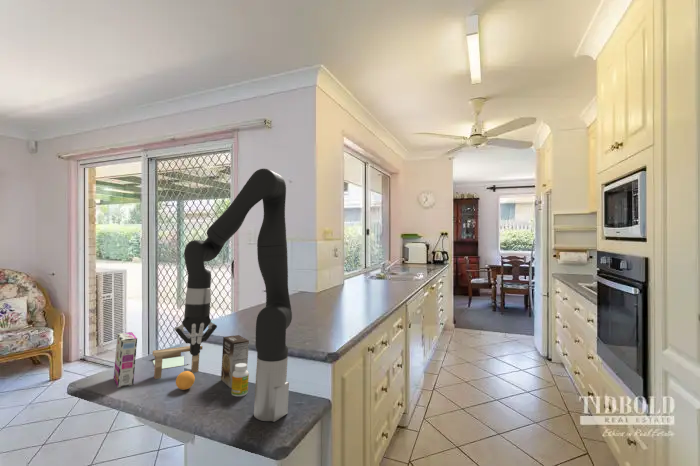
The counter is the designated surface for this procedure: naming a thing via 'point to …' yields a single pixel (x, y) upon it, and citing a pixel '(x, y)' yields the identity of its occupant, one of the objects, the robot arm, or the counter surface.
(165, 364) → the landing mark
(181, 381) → the ball
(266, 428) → the counter surface
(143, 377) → the counter surface
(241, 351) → the coffee box
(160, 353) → the bridge
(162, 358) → the stopper
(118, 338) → the candy bar box
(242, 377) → the supplement bottle
